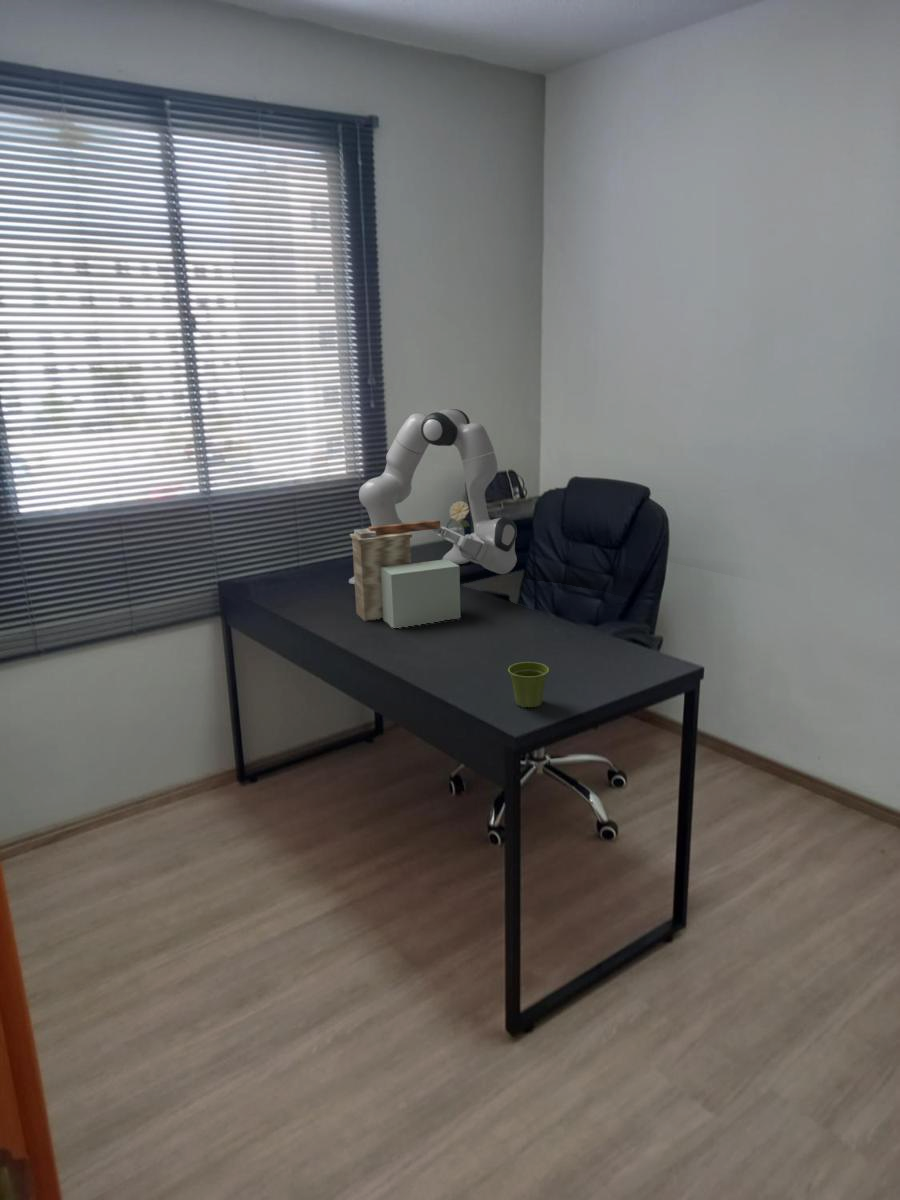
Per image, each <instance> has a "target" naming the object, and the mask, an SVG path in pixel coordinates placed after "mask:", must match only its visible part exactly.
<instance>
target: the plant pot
mask: <svg viewBox="0 0 900 1200" xmlns="http://www.w3.org/2000/svg"><path fill="white" fill-rule="evenodd" d="M507 671H508V673H509V675H510V678H511V682H512V688H513V693H514V699H515V704H516V706H518V705H519V706H518V707H520V706H521V707H520V708H523V707H528V708H533V707H535V708H538V707H540V706H541V705H542V703H543V698H544V697H543V695H544V689H545V683H546V678H547V675H548V674H549V671H550V669H549V667H548V666H547V665H546V664H544V663H540V662H534V661H533V662H532V661H524V662H517V663H514V664H511V665H510V666H509V667H508V669H507ZM537 706H538V707H537Z"/></svg>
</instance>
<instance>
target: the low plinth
mask: <svg viewBox="0 0 900 1200" xmlns="http://www.w3.org/2000/svg"><path fill="white" fill-rule="evenodd" d="M460 576H461V573H460V564H455V563H453V562H451V561H449V560H448V559H444V560H442V559H438V560H429V561H422V562H414V563H412V562H411V564H404V565H395V566H387V567H381V586H382V606H383V619H382V620H383V621H384V622H385V623H386V622H387V623H388V624H389V625H390V626H389V625H388V624H387V623H386V624H387V625H388V626H389V627H390V628H392V627H393V628H399V629H402V628H401V627H405V628H409V627H408V626H412V627H415V626H414V625H418V626H422V625H421V624H425V625H427V624H426V623H431V624H435V623H434V622H438V623H440V622H439V621H444V620H450V619H457V618H461V617H462V616H461V581H460V578H461V577H460ZM457 620H458V619H457ZM444 622H445V621H444ZM393 628H392V629H393Z"/></svg>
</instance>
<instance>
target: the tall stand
mask: <svg viewBox="0 0 900 1200" xmlns="http://www.w3.org/2000/svg"><path fill="white" fill-rule="evenodd" d="M376 536H377V537H373V538H363V539H360V538H359V537H357V536H356V535H354V533H350V534H349V537H350V538H351V539H352V540H351V544H352V558H353V559H352V561H353V577H354V579H355V584H354V594H355V595H354V596H355V611H356V615H357V616H358V617H360V618H361V620H363V622H368V621H369V620H370V621H374V620H375V621H377V620H381V619H380V618H383V606H382V586H381V567H387V566H395V565H404V564H412V557H411V556H412V553H411V549H412V548H411V538H413V534H412V532H403V533H394V534H385V535H376ZM376 619H377V620H376ZM370 621H369V622H370Z"/></svg>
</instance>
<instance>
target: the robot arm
mask: <svg viewBox="0 0 900 1200" xmlns="http://www.w3.org/2000/svg"><path fill="white" fill-rule="evenodd" d="M429 445H433V446H438V447H441V446H442V447H443V446H444V447H445V446H446V447H451V446H454V447H456V448H457V450H458V452H459V454H460V458H461V461H462V466H463V470H464V479H465V481H464V488H465V490H464V491H465V496H466V502H467V504H468V507H469V512H468V514H469V516H470V517H469V518H470V526H471V527H470V534H469V533H467V534H465V535H463V534H461V533H460V534H459V533H457V532H454V531H452V530H450V528H449V527H446V526H440V529H431V531H433V532H435V533H437V536H438V537H439V538H442V539H443V540H445V541H447V542H449V543H451V544H452V545H454V544H455V545H457V546H459V550H460V552H461V555H462V557H464V558H466V559H468V560H470V561H469V562H471V563H474V564H478V565H481V566H482V567H483V568H484V569H487V570H489V571H490V572H494V573H496V574H500V575H505V574H508V573H509V572H511V571H512V570H513V569H514V567H515V566H516V563H517V561H518V559H517V555H516V554H517V553H516V549H515V548H516V545H515V543H516V539H517V537H518V528H517V525H516V523H515V522H514V520H512V519H511V518H508V517H497V518H494V519H491V518H490V516H489V513H488V506H487V501H486V489H488V486H489V485H490V484H491V482H492V481H493V480H494V478H495V477H496V475H497V472H498V469H499V468H498V461H497V460H498V459H497V457H496V452H495V449H494V446H493V444H492V441H491V439H490V435H489V434H488V432H487V430H486V429H485V427H484V426H483V424H480V423H477V422H471V421H470V419H469V417H468V415H467V414H466V413H465V412H464V411H462V410H461V409H457V408H456V409H455V408H452V409H451V408H450V409H441V410H439V411H436V412H431V413H430V414H428V415H425V414H423V413H420V412H419V413H413V414H411V415H410V416H408V418H407V419H406V420H405V422H404V423H403V424H402V426H401V427H400V429H399V431H398V432H397V434H396V436H395V437H394V440H393V442H392V444H391V445H390V448H389V450H388V452H387V454H386V457H385V459H386V465H385V468H384V471H383V473H382V474H381V475H380V476H375V477H373V478H370V479H368V480H367V481H366V482H364V483H363V484H362V485H361V487H360V488H359V491H358V497H359V501H360V503H361V505H362V506H363V507H364V508H365V509H366V512H367V514H368V516H369V520H370V525H371V526H370V527H373V526H382V525H392V524H401V523H403V522H402V520H401V519H400V518H399V516H398V512H397V509H396V505H397V504H400V503H402V502H404V501H405V500H406V499H407V498H408V497H409V496H410V494H411V492H412V482H413V477H414V474H415V472H416V469H417V467H418V465H419V463H420V462H421V460H422V458H423V456H424V454H425V452H426V450H427V449H428V446H429ZM348 583H349V584H352V585H355V579H354V576H352V577H351V578H349V579H348Z"/></svg>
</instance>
